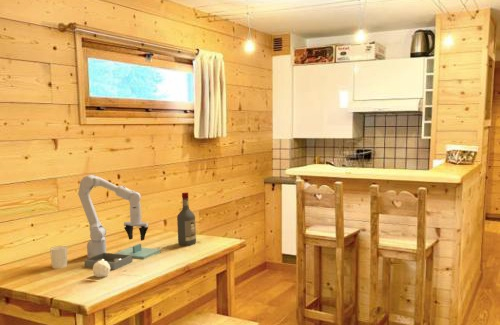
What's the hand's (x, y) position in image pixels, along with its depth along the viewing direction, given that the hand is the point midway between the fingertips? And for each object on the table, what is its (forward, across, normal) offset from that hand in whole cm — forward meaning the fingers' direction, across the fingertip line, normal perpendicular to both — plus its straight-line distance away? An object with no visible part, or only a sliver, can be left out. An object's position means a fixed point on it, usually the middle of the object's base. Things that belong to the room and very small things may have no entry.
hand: (136, 239), depth 247 cm
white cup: (+9, -24, -31) cm, 40 cm away
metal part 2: (+8, +2, -19) cm, 21 cm away
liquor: (+8, +14, +29) cm, 33 cm away
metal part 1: (+8, -6, -22) cm, 24 cm away
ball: (+9, +7, -37) cm, 39 cm away
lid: (+8, 0, 0) cm, 8 cm away
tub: (+8, -2, -21) cm, 23 cm away
